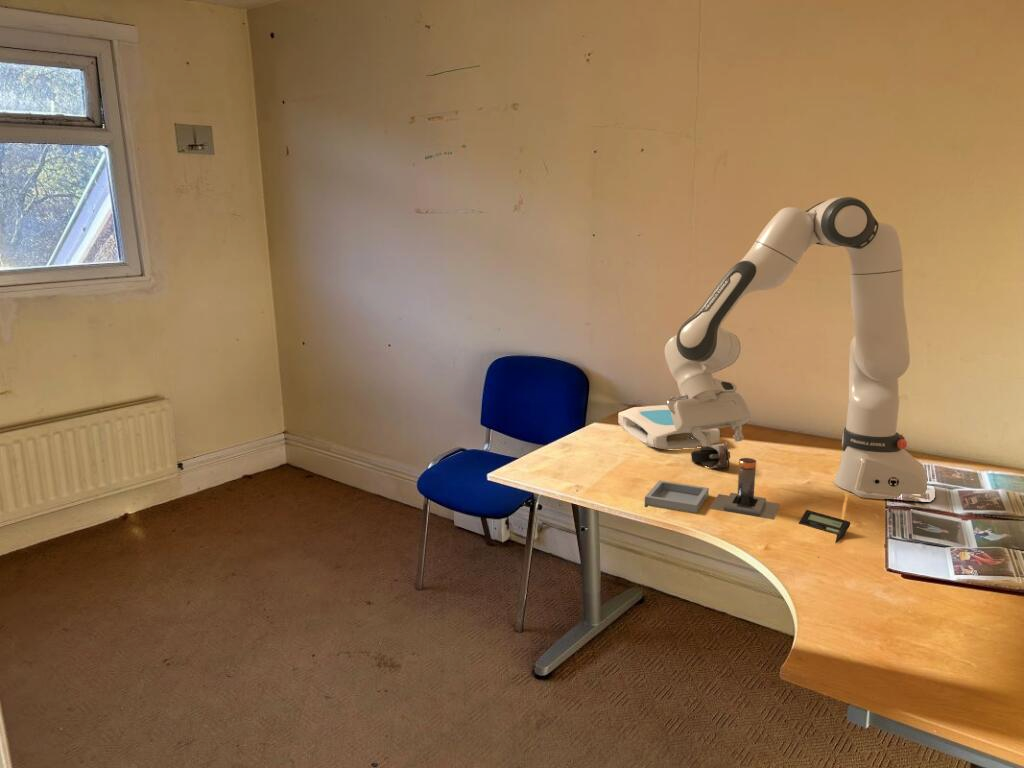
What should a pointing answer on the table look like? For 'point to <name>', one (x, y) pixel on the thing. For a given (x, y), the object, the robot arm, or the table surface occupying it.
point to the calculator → (825, 523)
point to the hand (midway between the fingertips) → (723, 442)
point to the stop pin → (746, 481)
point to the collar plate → (757, 510)
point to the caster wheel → (712, 456)
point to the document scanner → (659, 428)
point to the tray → (677, 496)
